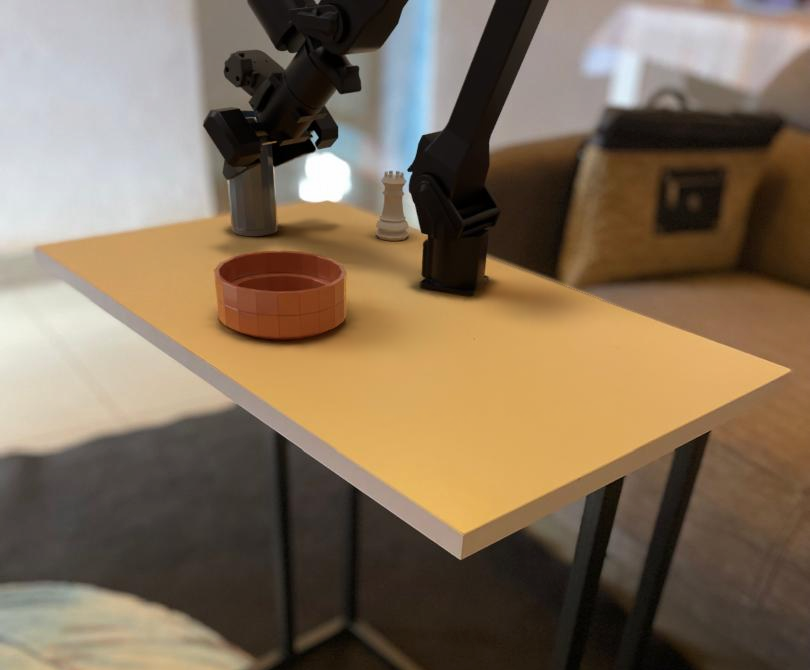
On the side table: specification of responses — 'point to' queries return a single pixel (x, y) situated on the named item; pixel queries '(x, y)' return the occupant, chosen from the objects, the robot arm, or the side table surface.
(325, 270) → the bowl
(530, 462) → the side table surface
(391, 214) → the rook chess piece
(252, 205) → the vase
